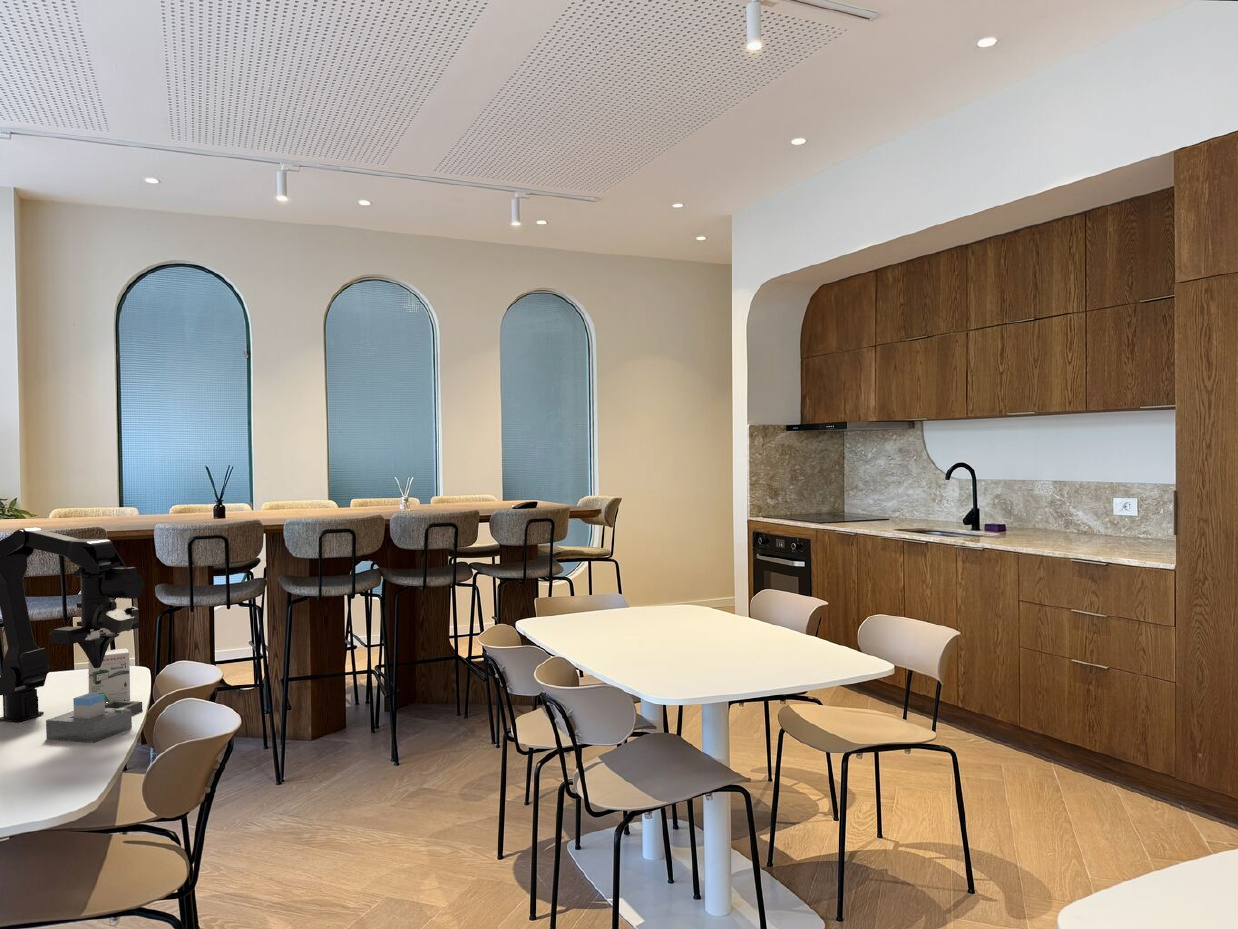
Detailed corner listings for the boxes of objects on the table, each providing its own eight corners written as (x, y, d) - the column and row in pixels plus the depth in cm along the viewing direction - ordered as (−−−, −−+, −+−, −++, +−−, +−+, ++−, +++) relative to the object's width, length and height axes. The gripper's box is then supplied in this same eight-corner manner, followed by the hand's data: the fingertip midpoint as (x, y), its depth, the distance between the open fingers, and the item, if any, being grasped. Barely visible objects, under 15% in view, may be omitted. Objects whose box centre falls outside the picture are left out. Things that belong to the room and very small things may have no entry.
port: (46, 739, 185) (45, 718, 185) (86, 725, 195) (85, 705, 195) (94, 742, 182) (93, 721, 182) (131, 727, 192) (131, 707, 192)
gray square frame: (86, 718, 200) (86, 709, 200) (114, 708, 208) (114, 700, 208) (115, 720, 198) (115, 711, 198) (142, 710, 206) (142, 701, 206)
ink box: (89, 706, 211) (88, 656, 211) (88, 701, 215) (87, 652, 215) (131, 699, 215) (129, 651, 215) (129, 695, 220) (127, 647, 220)
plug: (74, 736, 187) (73, 698, 187) (90, 730, 191) (89, 693, 191) (90, 737, 186) (88, 699, 186) (105, 731, 190) (104, 694, 190)
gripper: (89, 606, 185) (90, 680, 185) (158, 592, 203) (159, 660, 203) (47, 603, 188) (48, 677, 188) (119, 590, 206) (120, 657, 206)
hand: (97, 667), depth 196 cm, fingers closed
